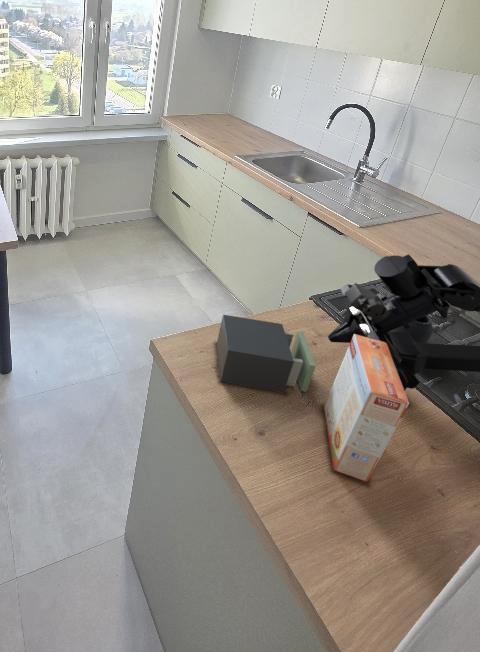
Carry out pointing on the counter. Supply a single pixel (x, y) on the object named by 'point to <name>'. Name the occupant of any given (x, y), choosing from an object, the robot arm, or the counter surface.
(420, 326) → the mug
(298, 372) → the drawer
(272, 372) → the cabinet
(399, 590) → the counter surface
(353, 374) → the cracker box
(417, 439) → the counter surface
